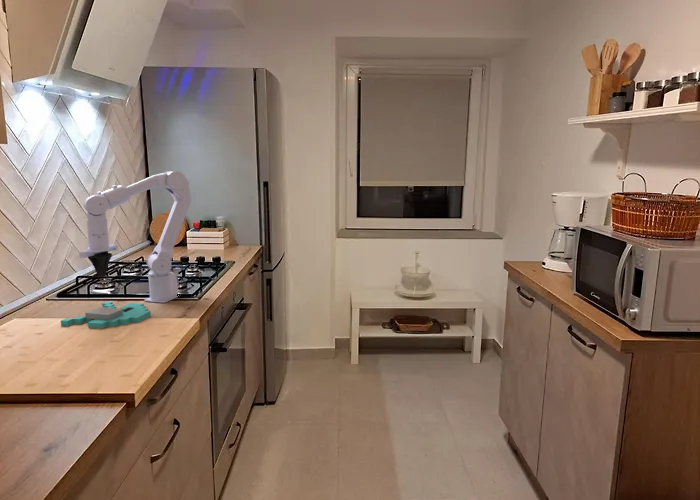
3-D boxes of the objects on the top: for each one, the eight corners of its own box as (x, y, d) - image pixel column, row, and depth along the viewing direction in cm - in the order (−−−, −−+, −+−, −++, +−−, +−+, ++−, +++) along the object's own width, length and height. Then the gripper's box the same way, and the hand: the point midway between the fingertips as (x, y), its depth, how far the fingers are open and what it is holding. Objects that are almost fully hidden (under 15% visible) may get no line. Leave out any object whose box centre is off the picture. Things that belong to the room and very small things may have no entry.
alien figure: (61, 328, 144) (123, 332, 140) (60, 320, 144) (122, 325, 140) (107, 308, 163) (162, 311, 160) (106, 301, 163) (162, 304, 159)
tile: (100, 307, 151) (85, 312, 146) (122, 309, 150) (108, 315, 144) (100, 312, 152) (85, 318, 146) (123, 314, 150) (109, 320, 144)
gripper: (104, 230, 166) (107, 270, 168) (69, 236, 152) (73, 280, 154) (122, 231, 164) (125, 271, 166) (88, 237, 150) (92, 281, 153)
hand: (101, 276), depth 160 cm, fingers closed
